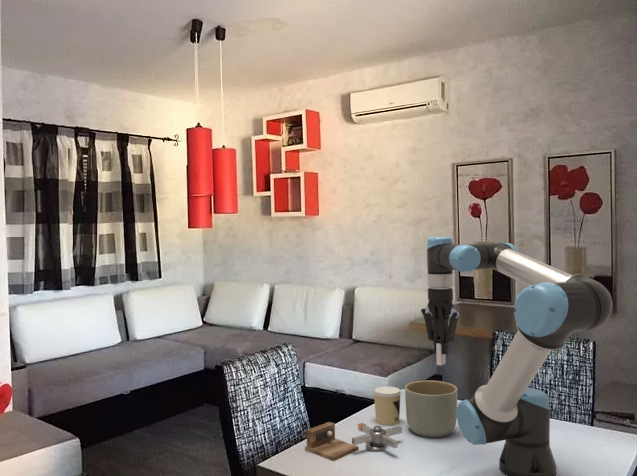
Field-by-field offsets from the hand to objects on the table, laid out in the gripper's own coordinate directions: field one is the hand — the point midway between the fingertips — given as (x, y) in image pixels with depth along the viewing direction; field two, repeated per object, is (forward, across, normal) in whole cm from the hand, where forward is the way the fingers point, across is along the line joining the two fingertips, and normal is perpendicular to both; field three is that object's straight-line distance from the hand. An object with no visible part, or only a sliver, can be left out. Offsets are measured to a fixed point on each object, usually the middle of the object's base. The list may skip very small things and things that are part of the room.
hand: (441, 364), depth 180 cm
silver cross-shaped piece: (+25, +14, +14) cm, 32 cm away
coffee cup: (+27, +26, -6) cm, 38 cm away
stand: (+26, +19, +20) cm, 38 cm away
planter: (+27, +10, -9) cm, 30 cm away
